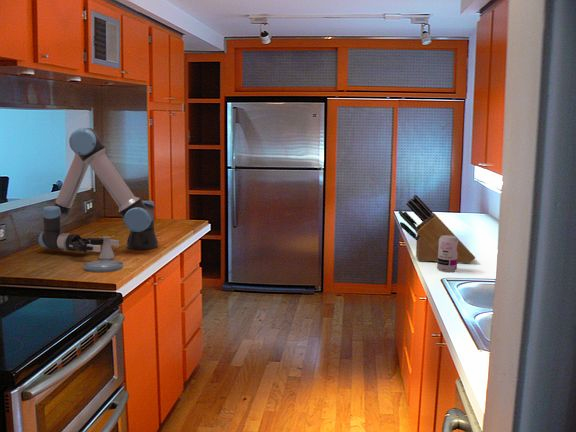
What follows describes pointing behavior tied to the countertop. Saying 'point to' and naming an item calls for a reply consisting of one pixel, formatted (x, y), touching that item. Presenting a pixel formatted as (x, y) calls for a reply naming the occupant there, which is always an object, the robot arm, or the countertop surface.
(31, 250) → the countertop surface
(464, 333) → the countertop surface
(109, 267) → the dish
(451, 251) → the supplement can
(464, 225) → the countertop surface
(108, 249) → the flask
